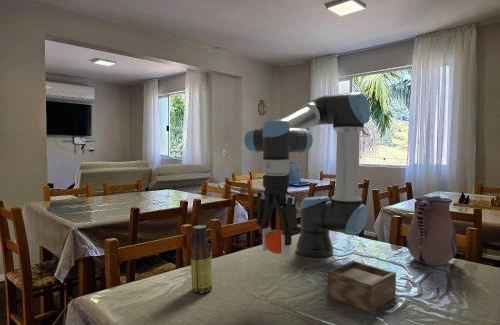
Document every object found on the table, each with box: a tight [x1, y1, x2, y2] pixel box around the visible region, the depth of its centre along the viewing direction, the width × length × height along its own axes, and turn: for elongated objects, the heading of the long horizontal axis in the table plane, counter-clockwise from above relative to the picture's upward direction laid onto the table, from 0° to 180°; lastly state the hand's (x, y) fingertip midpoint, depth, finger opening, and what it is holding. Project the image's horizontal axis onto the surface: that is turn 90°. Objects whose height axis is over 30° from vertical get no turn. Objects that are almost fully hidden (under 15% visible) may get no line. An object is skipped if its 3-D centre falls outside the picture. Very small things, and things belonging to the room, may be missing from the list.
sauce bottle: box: [190, 224, 213, 293], centre depth 107 cm, size 7×6×20 cm
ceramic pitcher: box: [405, 195, 459, 266], centre depth 132 cm, size 18×21×25 cm
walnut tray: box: [326, 260, 397, 314], centre depth 103 cm, size 14×14×8 cm
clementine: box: [261, 228, 284, 255], centre depth 101 cm, size 8×7×7 cm
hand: (276, 252), depth 101 cm, fingers closed on clementine, 7 cm apart
